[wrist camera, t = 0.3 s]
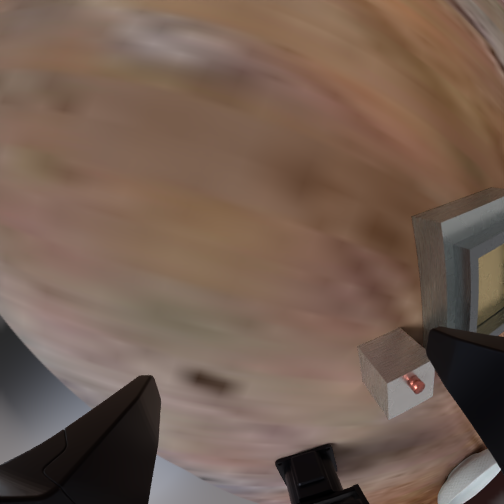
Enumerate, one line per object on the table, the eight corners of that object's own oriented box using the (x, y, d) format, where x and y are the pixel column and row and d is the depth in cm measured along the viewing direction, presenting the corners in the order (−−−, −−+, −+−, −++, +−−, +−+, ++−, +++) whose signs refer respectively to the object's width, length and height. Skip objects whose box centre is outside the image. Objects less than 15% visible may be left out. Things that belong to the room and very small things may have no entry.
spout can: (401, 363, 25) (439, 403, 18) (362, 381, 25) (394, 428, 18) (399, 327, 24) (443, 365, 17) (357, 345, 24) (394, 392, 17)
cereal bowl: (417, 501, 36) (430, 523, 29) (448, 458, 33) (466, 482, 26) (472, 472, 38) (486, 489, 31) (503, 425, 34) (521, 443, 27)
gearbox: (492, 332, 27) (523, 352, 21) (422, 377, 26) (451, 408, 20) (491, 187, 22) (533, 191, 17) (411, 216, 22) (458, 226, 16)
